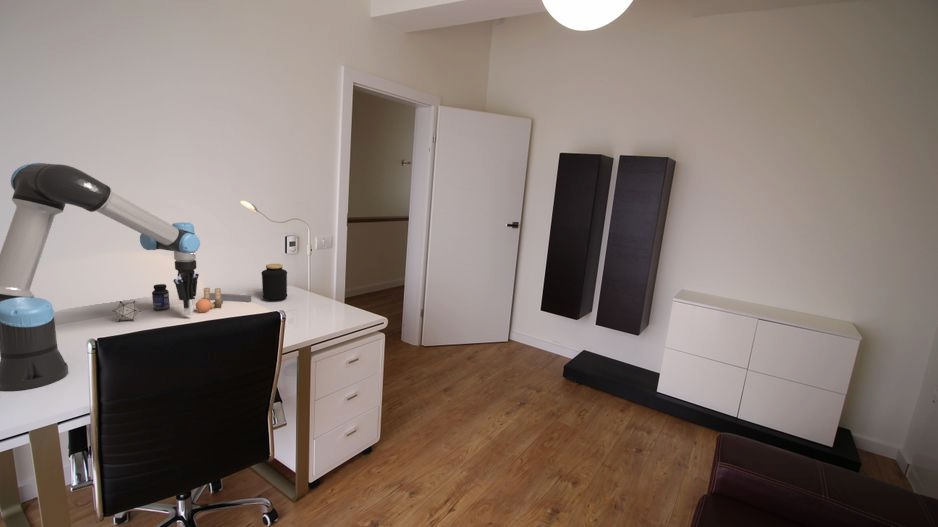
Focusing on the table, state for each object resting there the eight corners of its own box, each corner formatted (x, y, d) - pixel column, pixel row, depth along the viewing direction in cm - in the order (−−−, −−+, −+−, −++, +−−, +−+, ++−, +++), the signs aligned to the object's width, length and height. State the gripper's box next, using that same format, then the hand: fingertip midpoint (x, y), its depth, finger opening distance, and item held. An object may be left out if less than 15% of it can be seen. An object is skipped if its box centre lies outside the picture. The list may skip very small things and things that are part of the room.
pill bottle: (167, 310, 195) (166, 286, 193) (151, 311, 192) (149, 287, 190) (171, 306, 200) (169, 283, 198) (155, 307, 198) (153, 283, 196)
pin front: (212, 304, 200) (223, 299, 208) (207, 303, 199) (218, 298, 208) (212, 309, 200) (222, 304, 209) (207, 308, 200) (217, 303, 209)
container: (259, 297, 222) (258, 263, 219) (283, 295, 229) (284, 262, 226) (264, 304, 213) (264, 268, 209) (290, 301, 220) (290, 266, 216)
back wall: (249, 302, 214) (249, 296, 213) (204, 299, 214) (204, 293, 213) (251, 301, 216) (251, 295, 215) (207, 298, 216) (206, 292, 215)
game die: (129, 330, 179) (121, 316, 172) (112, 321, 180) (103, 306, 173) (148, 315, 185) (141, 301, 178) (132, 306, 186) (124, 291, 179)
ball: (215, 304, 199) (210, 315, 195) (202, 304, 199) (196, 314, 195) (210, 296, 195) (204, 306, 191) (197, 295, 195) (190, 306, 191)
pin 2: (219, 308, 201) (218, 289, 200) (214, 308, 201) (213, 289, 200) (222, 307, 204) (221, 288, 202) (217, 306, 204) (216, 288, 202)
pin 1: (208, 308, 201) (207, 289, 200) (203, 307, 201) (202, 288, 200) (211, 306, 204) (210, 287, 202) (206, 306, 204) (205, 287, 202)
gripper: (184, 263, 174) (187, 319, 179) (203, 257, 187) (206, 310, 192) (165, 262, 174) (169, 318, 179) (186, 256, 187) (189, 309, 192)
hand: (188, 314), depth 185 cm, fingers closed
